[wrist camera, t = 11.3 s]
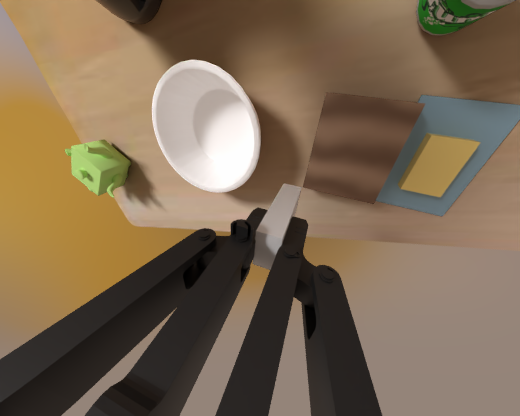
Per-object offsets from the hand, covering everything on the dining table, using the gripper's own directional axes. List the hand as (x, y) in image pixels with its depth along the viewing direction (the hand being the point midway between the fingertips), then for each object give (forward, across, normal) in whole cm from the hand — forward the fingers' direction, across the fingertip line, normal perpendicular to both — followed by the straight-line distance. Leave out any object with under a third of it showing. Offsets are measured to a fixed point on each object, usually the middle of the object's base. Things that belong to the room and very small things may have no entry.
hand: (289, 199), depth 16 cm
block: (+22, +19, -1) cm, 29 cm away
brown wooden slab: (+24, +6, 0) cm, 25 cm away
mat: (+24, +20, 0) cm, 31 cm away
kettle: (+25, -56, -16) cm, 63 cm away
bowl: (+25, -20, -1) cm, 32 cm away
